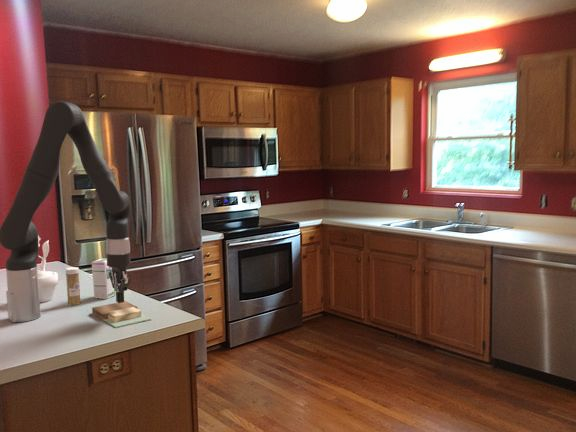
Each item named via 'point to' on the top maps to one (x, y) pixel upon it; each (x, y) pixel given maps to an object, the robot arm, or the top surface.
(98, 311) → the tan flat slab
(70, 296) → the sprinkles bottle
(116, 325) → the rubber mat
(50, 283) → the potted plant
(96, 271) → the syrup box
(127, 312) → the maple tile
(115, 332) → the top surface
